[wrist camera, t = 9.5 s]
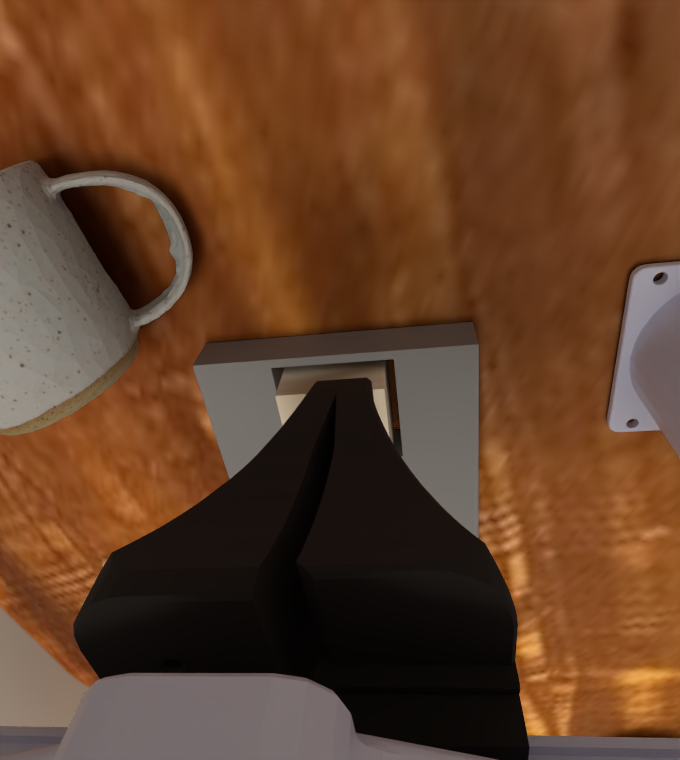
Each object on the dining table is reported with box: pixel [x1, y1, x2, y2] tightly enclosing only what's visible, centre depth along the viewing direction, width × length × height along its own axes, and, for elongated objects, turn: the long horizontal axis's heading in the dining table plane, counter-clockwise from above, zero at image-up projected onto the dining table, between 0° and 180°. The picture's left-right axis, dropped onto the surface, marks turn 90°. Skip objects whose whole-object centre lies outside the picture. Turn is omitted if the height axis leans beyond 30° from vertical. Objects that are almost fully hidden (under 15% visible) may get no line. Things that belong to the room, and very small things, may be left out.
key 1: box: [275, 360, 394, 444], centre depth 24 cm, size 4×4×3 cm
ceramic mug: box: [0, 160, 193, 435], centre depth 20 cm, size 11×8×8 cm
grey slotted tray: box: [193, 322, 479, 538], centre depth 29 cm, size 12×24×2 cm, turn 8°
